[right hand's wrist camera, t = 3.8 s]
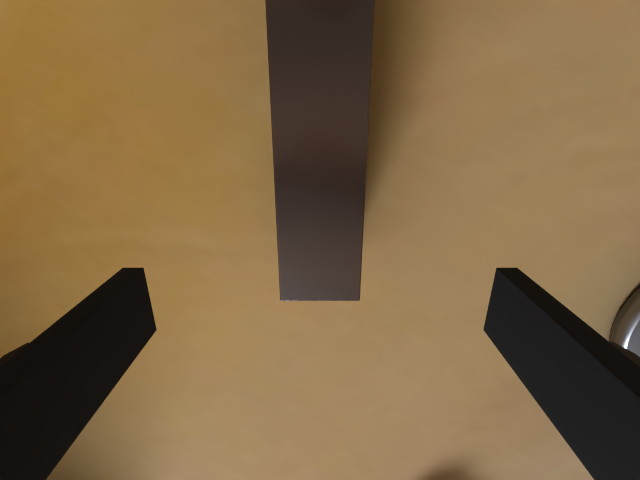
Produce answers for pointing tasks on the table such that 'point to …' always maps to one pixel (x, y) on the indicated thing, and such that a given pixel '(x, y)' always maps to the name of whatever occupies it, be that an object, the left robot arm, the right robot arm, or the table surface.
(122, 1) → the table surface
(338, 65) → the plank
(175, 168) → the table surface
